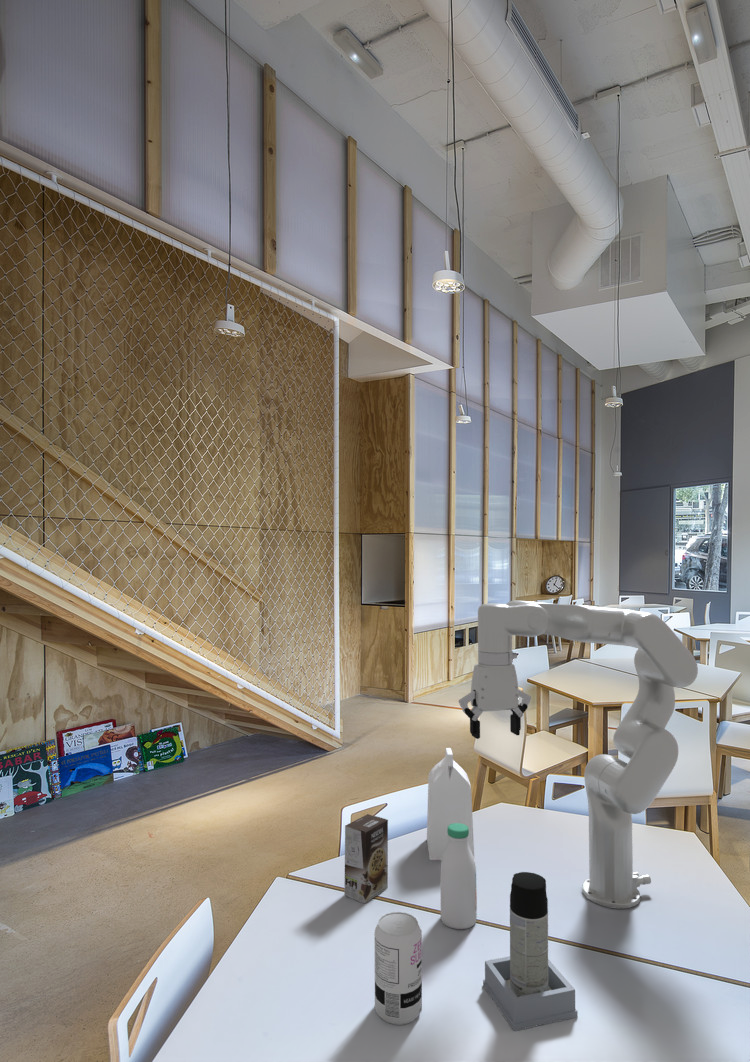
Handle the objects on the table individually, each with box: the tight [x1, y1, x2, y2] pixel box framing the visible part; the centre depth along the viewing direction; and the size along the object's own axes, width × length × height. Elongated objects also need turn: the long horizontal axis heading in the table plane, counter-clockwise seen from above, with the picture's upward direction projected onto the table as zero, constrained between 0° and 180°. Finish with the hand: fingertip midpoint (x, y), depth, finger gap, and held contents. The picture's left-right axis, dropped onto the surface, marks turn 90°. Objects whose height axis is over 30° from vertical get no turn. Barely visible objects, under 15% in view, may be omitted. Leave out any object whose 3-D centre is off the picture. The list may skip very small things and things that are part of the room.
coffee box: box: [343, 813, 389, 904], centre depth 155 cm, size 9×6×16 cm
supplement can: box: [374, 911, 423, 1026], centre depth 115 cm, size 8×8×15 cm
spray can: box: [509, 871, 549, 997], centre depth 118 cm, size 7×7×20 cm
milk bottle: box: [440, 823, 478, 930], centre depth 143 cm, size 8×8×20 cm
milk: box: [426, 747, 475, 861], centre depth 177 cm, size 12×12×26 cm
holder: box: [482, 955, 579, 1032], centre depth 118 cm, size 12×12×4 cm
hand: (495, 735), depth 149 cm, fingers open, 9 cm apart
